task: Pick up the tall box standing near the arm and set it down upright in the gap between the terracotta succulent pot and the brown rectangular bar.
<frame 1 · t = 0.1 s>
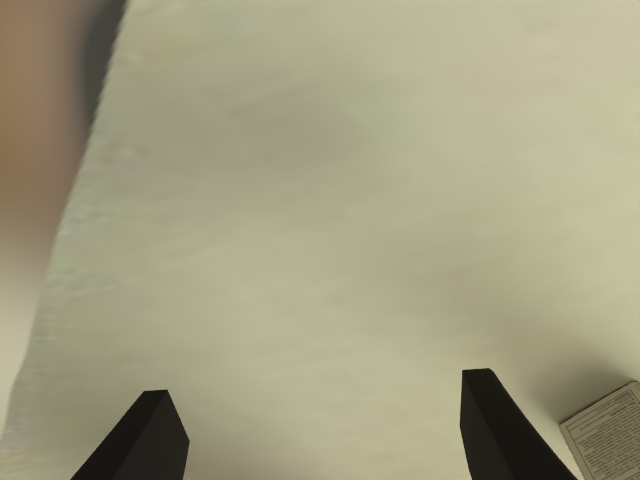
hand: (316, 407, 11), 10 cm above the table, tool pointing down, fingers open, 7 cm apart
box: (614, 414, 27), on the table
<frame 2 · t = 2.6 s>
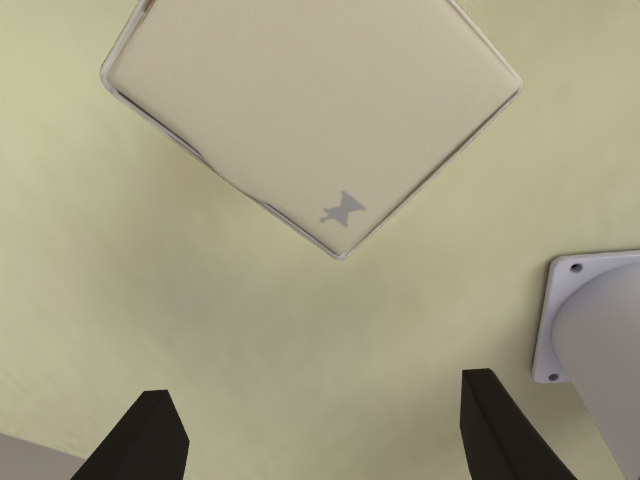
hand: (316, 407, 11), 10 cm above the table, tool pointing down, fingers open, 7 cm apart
box: (326, 12, 16), on the table
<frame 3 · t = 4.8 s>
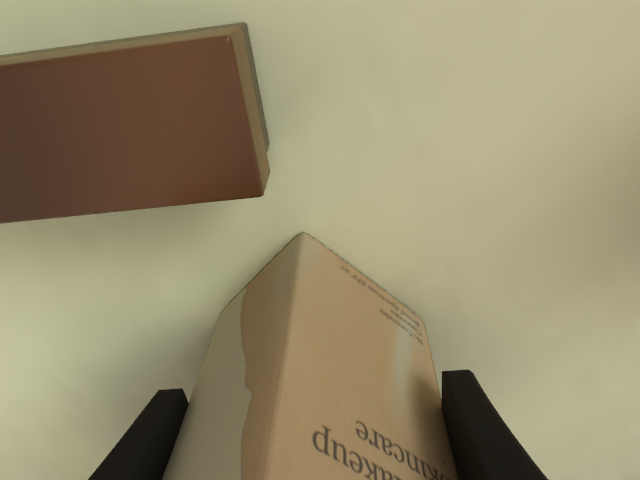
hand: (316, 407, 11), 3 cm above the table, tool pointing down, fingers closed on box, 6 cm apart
box: (317, 312, 15), on the table, touching gripper
brown rectangular bar: (95, 107, 11), on the table
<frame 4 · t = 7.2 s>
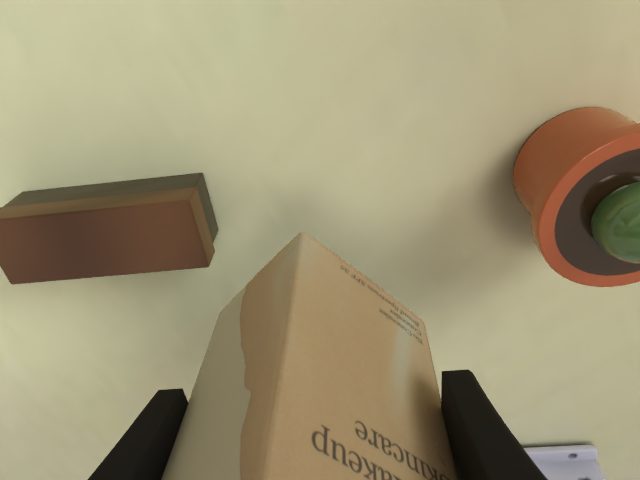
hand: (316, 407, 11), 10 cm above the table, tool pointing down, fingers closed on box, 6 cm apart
succulent pot: (574, 166, 19), on the table
box: (317, 311, 15), point 7 cm above the table, touching gripper
brown rectangular bar: (122, 211, 20), on the table
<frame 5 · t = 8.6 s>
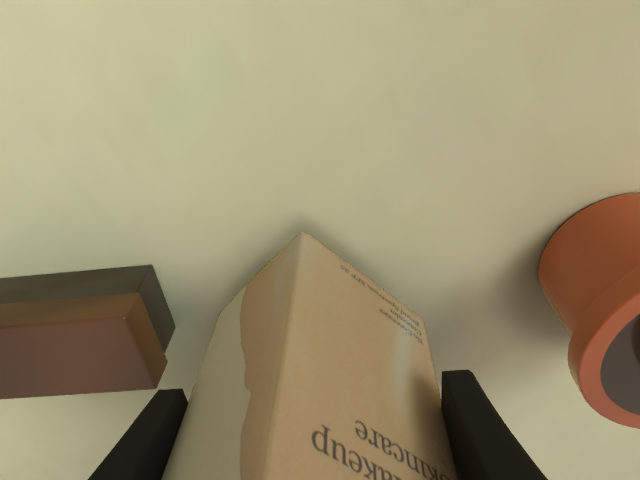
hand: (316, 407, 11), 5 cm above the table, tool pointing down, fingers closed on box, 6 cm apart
succulent pot: (615, 259, 15), on the table
box: (317, 311, 15), point 1 cm above the table, touching gripper
brown rectangular bar: (56, 306, 17), on the table
when the fingers open (3 cm above the table, at t = 9.8 s): box stays where it is, on the table.
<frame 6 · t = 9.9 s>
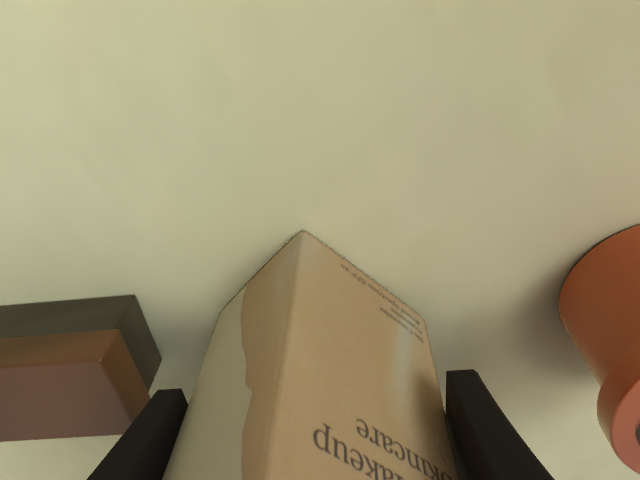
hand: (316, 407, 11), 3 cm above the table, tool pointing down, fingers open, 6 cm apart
box: (317, 310, 15), on the table
brown rectangular bar: (32, 337, 15), on the table
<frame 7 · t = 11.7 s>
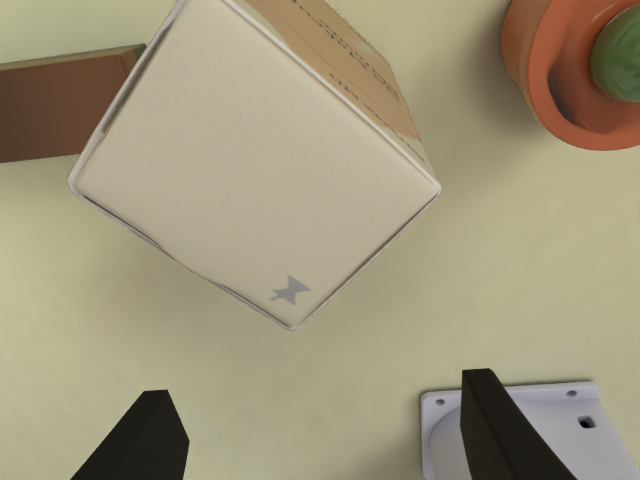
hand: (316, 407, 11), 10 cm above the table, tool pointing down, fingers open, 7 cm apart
succulent pot: (570, 28, 16), on the table
box: (299, 61, 17), on the table
brown rectangular bar: (57, 95, 18), on the table
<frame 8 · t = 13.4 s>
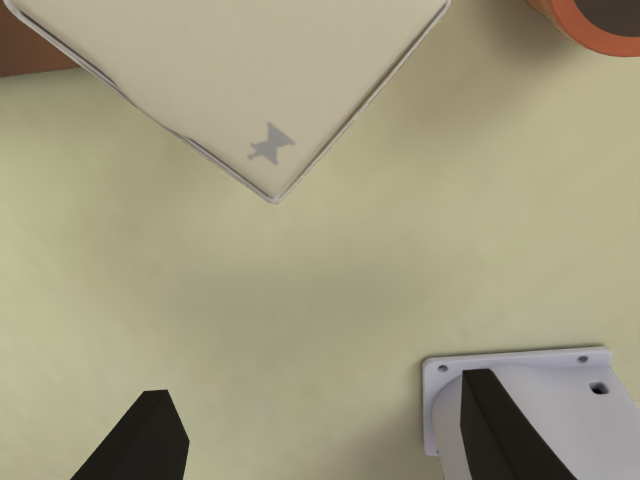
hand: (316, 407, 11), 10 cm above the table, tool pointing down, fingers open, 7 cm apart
brown rectangular bar: (33, 16, 17), on the table
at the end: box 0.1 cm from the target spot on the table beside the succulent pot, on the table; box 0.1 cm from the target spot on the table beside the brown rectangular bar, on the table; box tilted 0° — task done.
